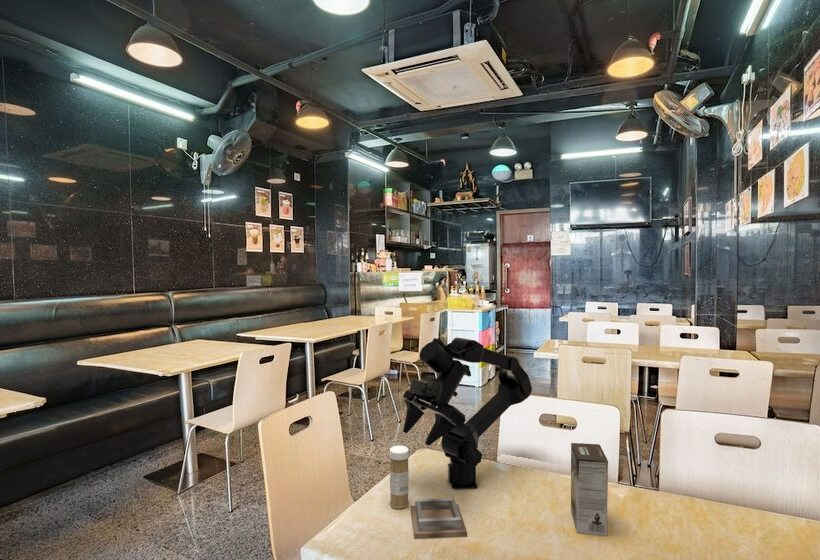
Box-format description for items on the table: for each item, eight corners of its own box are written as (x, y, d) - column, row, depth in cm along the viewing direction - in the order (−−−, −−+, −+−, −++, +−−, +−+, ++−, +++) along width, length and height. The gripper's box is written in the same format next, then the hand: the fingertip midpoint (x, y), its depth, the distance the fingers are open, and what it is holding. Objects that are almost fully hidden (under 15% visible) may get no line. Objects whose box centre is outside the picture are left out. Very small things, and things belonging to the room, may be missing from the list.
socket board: (457, 508, 103) (457, 495, 103) (467, 536, 92) (467, 522, 92) (410, 510, 102) (410, 497, 102) (414, 538, 91) (414, 524, 91)
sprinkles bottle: (405, 498, 107) (405, 443, 107) (411, 508, 103) (411, 451, 103) (387, 501, 106) (387, 445, 106) (392, 511, 102) (392, 453, 101)
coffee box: (569, 510, 102) (570, 441, 102) (599, 513, 101) (599, 443, 100) (576, 533, 93) (576, 457, 93) (608, 537, 92) (609, 460, 91)
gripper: (405, 358, 115) (372, 412, 110) (451, 372, 100) (416, 435, 95) (431, 380, 120) (401, 432, 115) (479, 397, 105) (447, 457, 100)
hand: (415, 438), depth 106 cm, fingers open, 9 cm apart
